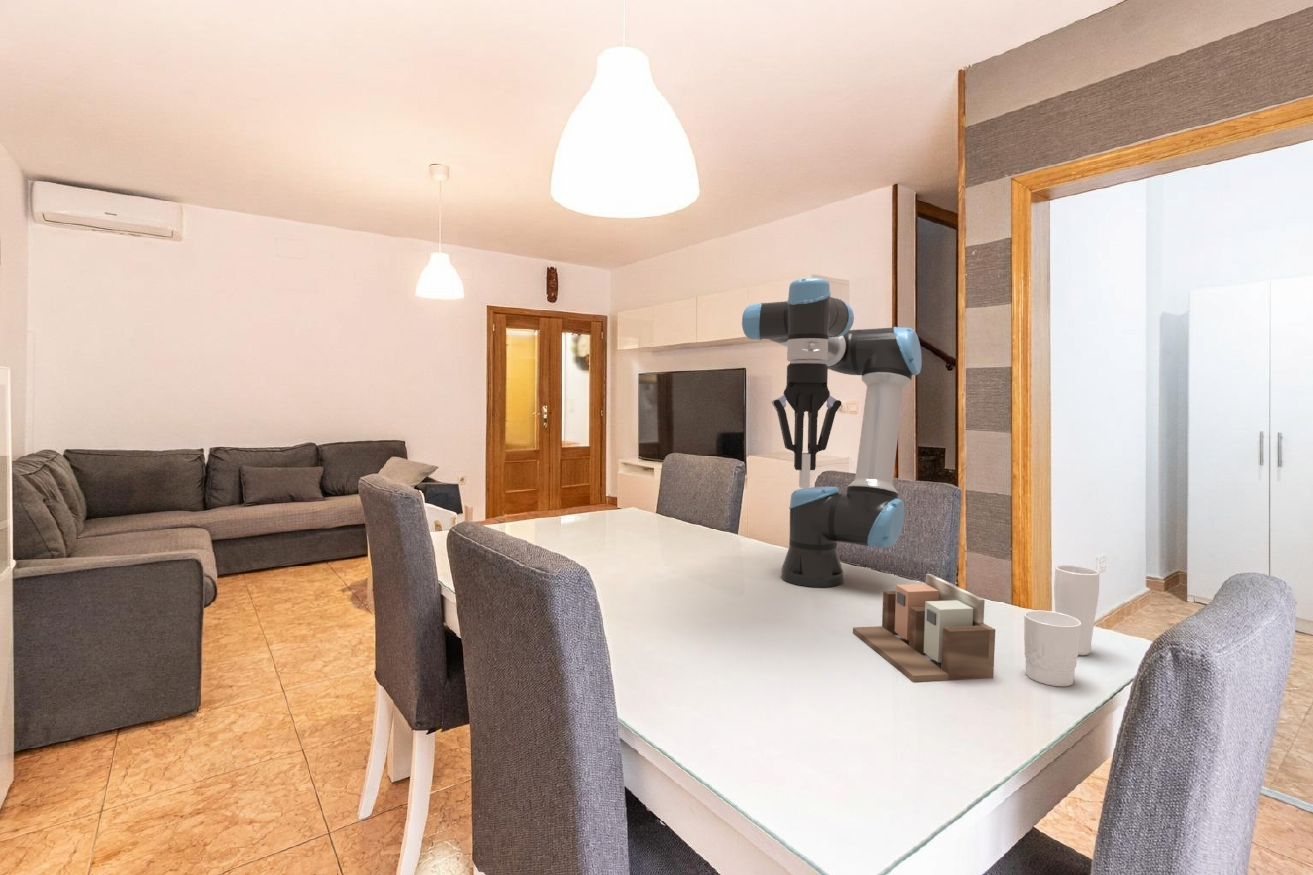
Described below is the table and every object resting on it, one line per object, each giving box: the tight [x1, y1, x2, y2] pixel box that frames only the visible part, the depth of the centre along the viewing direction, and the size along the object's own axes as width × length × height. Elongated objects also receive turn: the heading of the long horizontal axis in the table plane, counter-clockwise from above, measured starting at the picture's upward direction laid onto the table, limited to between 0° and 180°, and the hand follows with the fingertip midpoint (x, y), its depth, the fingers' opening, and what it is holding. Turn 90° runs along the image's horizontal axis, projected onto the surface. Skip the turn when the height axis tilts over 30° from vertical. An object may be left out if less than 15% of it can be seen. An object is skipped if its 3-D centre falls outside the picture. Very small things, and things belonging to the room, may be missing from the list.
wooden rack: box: [852, 573, 996, 683], centre depth 115 cm, size 22×14×12 cm, turn 8°
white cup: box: [1023, 609, 1081, 687], centre depth 105 cm, size 8×8×10 cm
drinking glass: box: [1053, 564, 1100, 656], centre depth 117 cm, size 7×7×15 cm
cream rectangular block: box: [924, 600, 973, 663], centre depth 110 cm, size 4×6×9 cm
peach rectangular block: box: [895, 583, 939, 641], centre depth 120 cm, size 4×6×9 cm
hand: (804, 487), depth 123 cm, fingers closed
